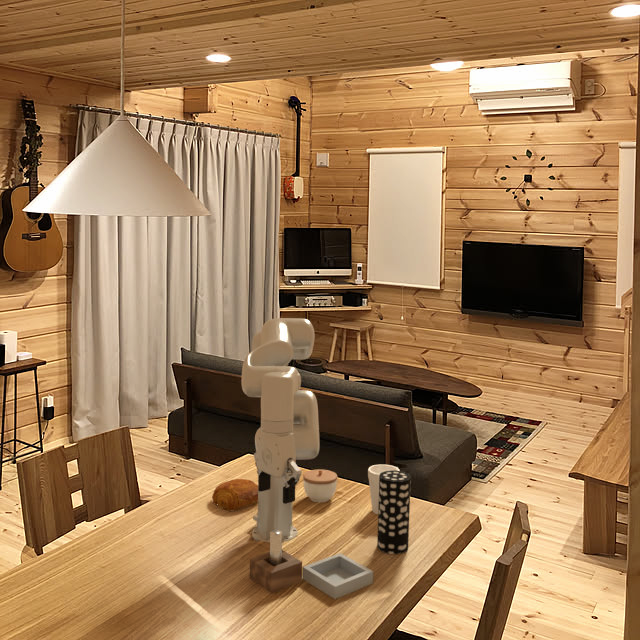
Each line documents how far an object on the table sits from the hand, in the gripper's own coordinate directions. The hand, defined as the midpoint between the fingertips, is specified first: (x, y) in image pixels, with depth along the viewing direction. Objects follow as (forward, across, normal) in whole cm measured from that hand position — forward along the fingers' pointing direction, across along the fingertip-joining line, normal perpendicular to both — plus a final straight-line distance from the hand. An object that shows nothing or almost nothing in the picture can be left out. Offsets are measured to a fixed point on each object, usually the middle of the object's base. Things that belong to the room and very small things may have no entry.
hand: (276, 496), depth 169 cm
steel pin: (+21, -1, +1) cm, 21 cm away
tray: (+22, +9, +12) cm, 27 cm away
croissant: (+22, -49, +21) cm, 58 cm away
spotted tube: (+22, +3, +37) cm, 43 cm away
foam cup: (+22, -16, +52) cm, 59 cm away
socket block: (+22, -1, +1) cm, 22 cm away
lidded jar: (+21, -35, +43) cm, 60 cm away
